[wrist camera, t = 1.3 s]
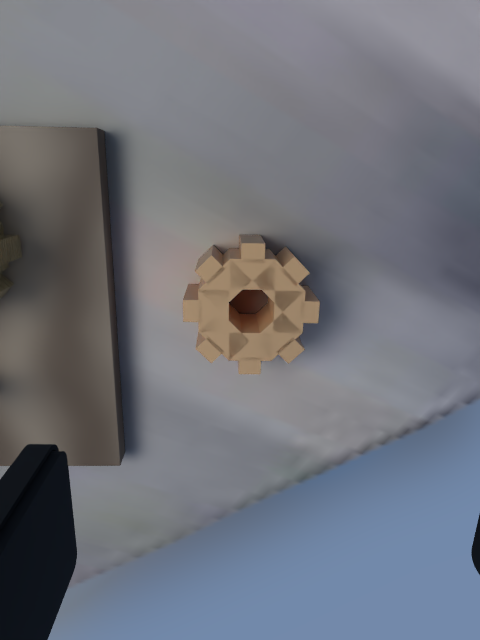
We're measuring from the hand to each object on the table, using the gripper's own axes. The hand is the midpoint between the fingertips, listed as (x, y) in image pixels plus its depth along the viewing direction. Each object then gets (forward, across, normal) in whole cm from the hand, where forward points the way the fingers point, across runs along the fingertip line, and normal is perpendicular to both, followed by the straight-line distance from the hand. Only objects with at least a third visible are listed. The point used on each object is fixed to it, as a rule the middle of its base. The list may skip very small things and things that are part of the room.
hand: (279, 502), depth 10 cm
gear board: (+18, +16, +1) cm, 24 cm away
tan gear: (+18, 0, 0) cm, 18 cm away
